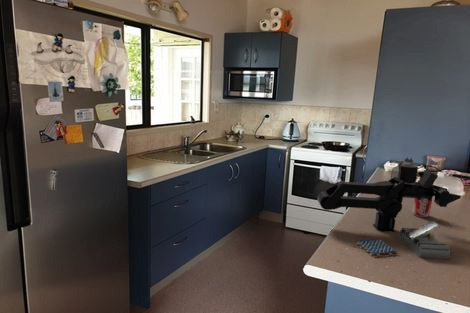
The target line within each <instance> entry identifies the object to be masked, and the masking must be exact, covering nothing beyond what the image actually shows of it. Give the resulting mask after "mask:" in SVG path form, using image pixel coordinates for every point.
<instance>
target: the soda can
mask: <svg viewBox="0 0 470 313" xmlns="http://www.w3.org/2000/svg"><path fill="white" fill-rule="evenodd" d="M432 203H433V198H432V199H431V201H428V200H427V199H421V200H417V199H416V198H413V206H412V213H413V215H415V217H419V218H428V217H429V216H430V213H431V209H432Z"/></svg>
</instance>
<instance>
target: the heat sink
mask: <svg viewBox="0 0 470 313" xmlns="http://www.w3.org/2000/svg"><path fill="white" fill-rule="evenodd" d="M418 228H419V227H417V228H415V227H401V229H400V231H399V235H398V237H399V239H400V240H401V241H402V242H403V243H404V244H405V245H406V246H407V247H408V248H409V249H410V250H411V251H412V252H413V253H414V254H415V255H416V256H417V257H418V258H424V257H426V258H428V259H443V260H449V259H450V256H451V250H450V245H448V244H447V243H446V242H445V243H444V242H440V241H439V240H438V239H436V238H435V234H434V233H432V232H431V233H429V234H427V235H425V236H423V237H421V238H419V239H418V238H413V239H412V240H411V239H410V238H409V237H408V236H407V234H409V233H410V232H412V231H414V230H416V229H418ZM426 258H425V259H426Z"/></svg>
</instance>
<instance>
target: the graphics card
mask: <svg viewBox="0 0 470 313" xmlns="http://www.w3.org/2000/svg"><path fill="white" fill-rule="evenodd" d="M413 161H414V160H413V159H412V157H410V159H409V157H406V158H405V159H404V160H402V161H400V162H399V161H398V163H397V165H396V166H394V167H393V168H392V169H391V173H390V179H392V178H394V177H398V173H399V165H405V164H409V165H413ZM394 185H397V184H396V183H395V184H394Z"/></svg>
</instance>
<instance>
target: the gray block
mask: <svg viewBox="0 0 470 313" xmlns="http://www.w3.org/2000/svg"><path fill="white" fill-rule="evenodd" d="M417 228H418V229H416V230H414V231H412V232H410V233H409V234H407V236H408V237H409V238H410V239H411V240H412V239H413V238H418V239H419V238H421V237H423V236H425V235H427V234H429V233H432V232H435V231H436V230H439V229H440V225H439V224H438V223H436V222H435V221H434V220H431V221H429V222H427V223H426V224H424V225H422V226H420V227H417Z"/></svg>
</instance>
